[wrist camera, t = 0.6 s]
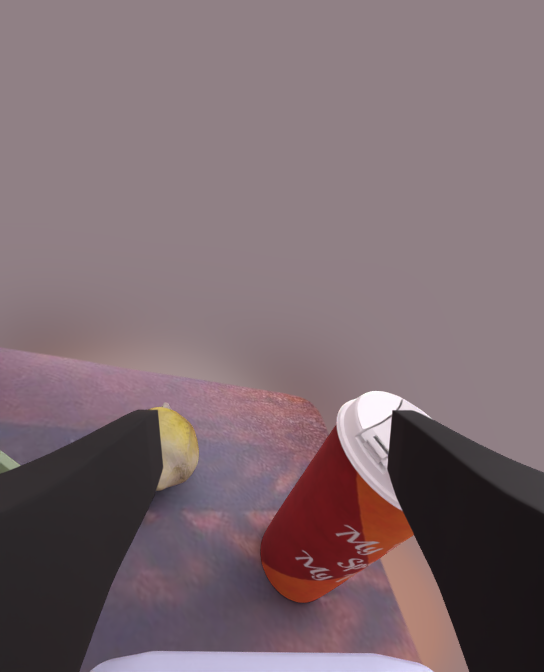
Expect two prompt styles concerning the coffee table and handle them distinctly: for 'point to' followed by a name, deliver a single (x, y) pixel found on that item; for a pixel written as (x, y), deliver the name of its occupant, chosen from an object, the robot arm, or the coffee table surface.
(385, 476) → the coffee cup
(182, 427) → the fruit
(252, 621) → the coffee table surface
